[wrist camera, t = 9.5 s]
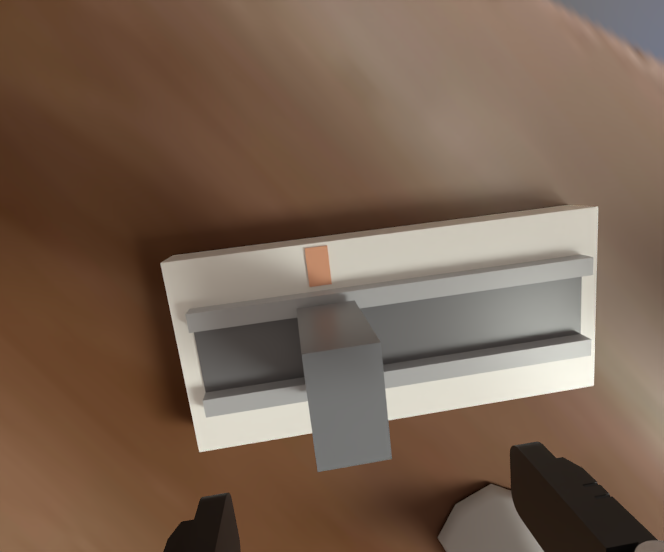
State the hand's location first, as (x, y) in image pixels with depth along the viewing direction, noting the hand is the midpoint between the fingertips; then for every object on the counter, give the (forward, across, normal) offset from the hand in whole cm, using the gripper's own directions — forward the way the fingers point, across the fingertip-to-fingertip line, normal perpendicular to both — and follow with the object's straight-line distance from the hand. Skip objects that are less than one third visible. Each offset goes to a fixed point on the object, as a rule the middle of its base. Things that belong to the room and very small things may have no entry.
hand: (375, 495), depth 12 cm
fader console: (+14, -4, 0) cm, 15 cm away
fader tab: (+12, 0, 0) cm, 12 cm away
